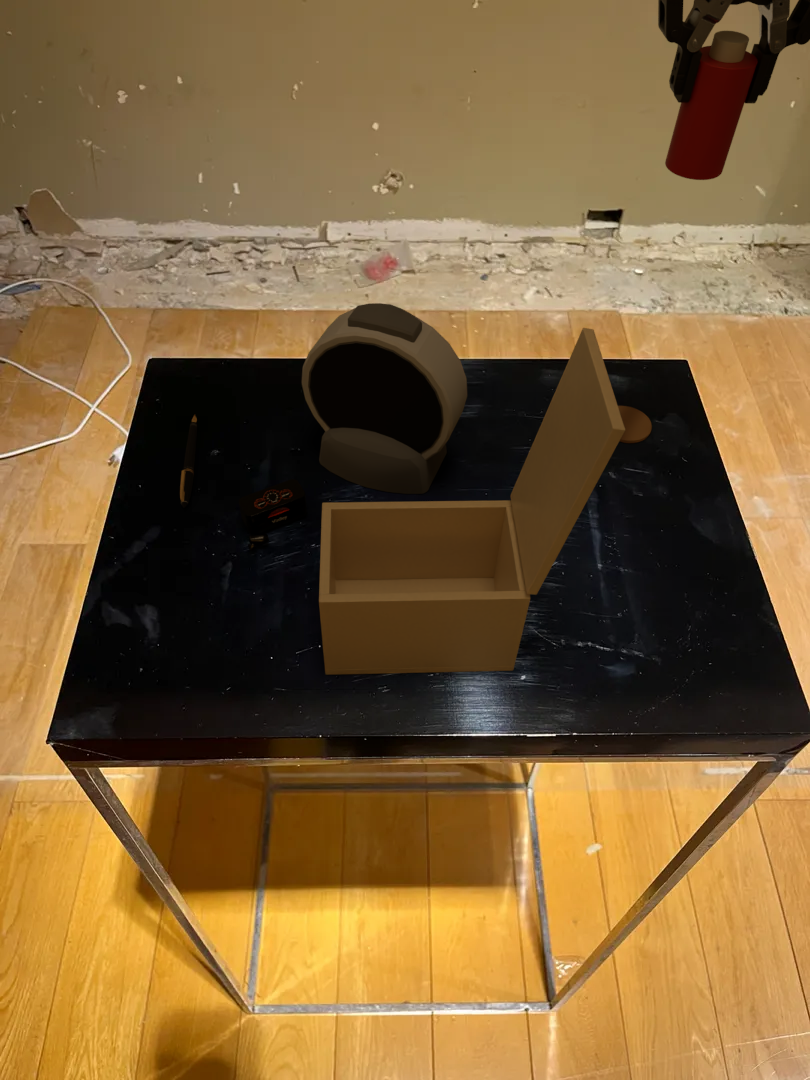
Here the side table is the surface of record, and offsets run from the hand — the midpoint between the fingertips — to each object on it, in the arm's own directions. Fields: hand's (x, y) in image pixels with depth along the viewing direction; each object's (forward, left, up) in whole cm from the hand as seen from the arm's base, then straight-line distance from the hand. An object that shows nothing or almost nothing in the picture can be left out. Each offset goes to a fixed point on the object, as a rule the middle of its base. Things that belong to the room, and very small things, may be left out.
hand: (714, 98), depth 66 cm
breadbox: (+15, +31, -36) cm, 50 cm away
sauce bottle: (0, 0, -6) cm, 6 cm away
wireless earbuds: (+32, +24, -36) cm, 54 cm away
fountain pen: (+44, +18, -36) cm, 60 cm away
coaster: (-1, -2, -36) cm, 36 cm away
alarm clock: (+24, +11, -36) cm, 45 cm away
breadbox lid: (+6, +29, -16) cm, 33 cm away
